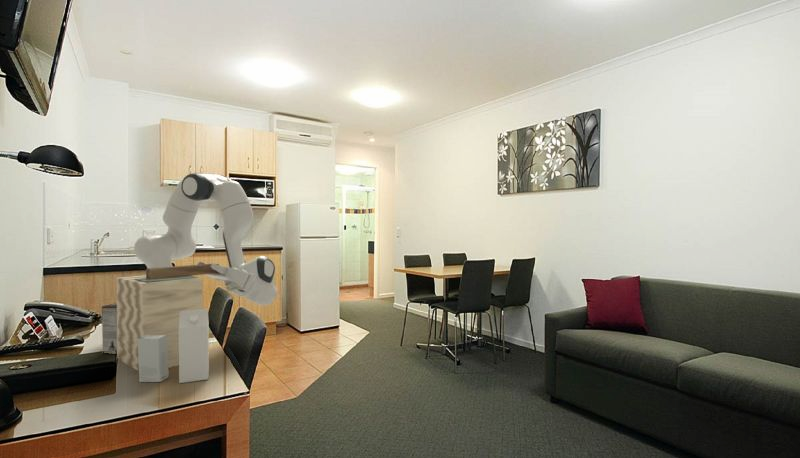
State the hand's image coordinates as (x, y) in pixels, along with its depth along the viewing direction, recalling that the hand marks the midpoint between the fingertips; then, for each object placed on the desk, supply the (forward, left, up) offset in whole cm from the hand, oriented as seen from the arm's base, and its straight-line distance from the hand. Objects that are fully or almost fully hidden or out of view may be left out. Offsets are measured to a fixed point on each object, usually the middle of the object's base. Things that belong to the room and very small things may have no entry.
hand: (204, 264), depth 140 cm
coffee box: (-24, -17, -30) cm, 42 cm away
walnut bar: (0, -7, -3) cm, 7 cm away
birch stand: (-4, -13, -29) cm, 32 cm away
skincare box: (+14, -21, -30) cm, 39 cm away
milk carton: (+21, -13, -30) cm, 39 cm away
